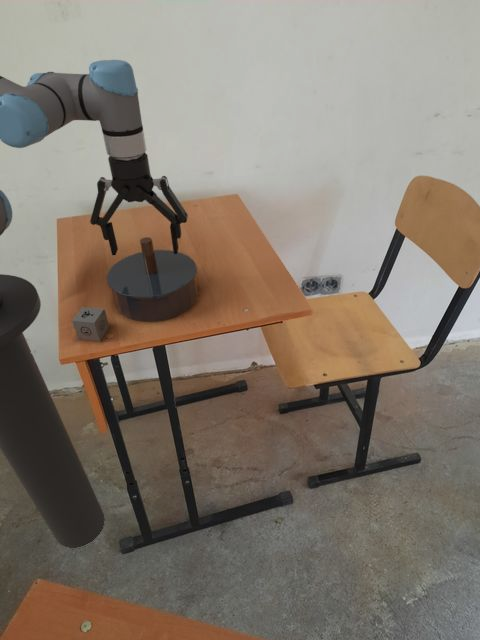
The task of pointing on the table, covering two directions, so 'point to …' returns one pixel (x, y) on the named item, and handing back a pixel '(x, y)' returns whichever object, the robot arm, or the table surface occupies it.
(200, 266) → the table surface
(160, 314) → the pot
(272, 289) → the table surface
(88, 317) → the dice cube
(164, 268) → the lid
